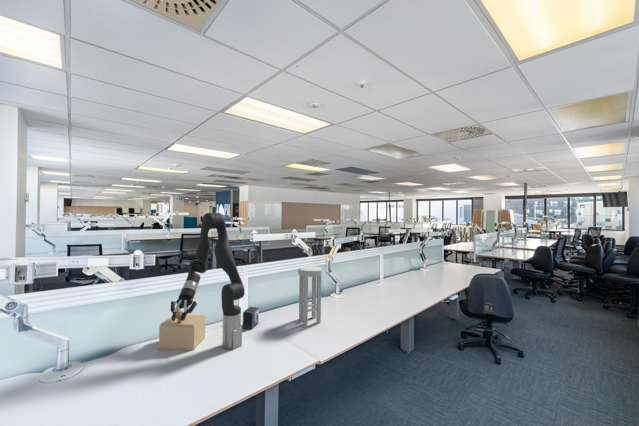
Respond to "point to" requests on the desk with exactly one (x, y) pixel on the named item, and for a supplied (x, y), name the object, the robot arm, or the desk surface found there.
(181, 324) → the lid flap
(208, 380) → the desk surface
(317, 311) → the stool
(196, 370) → the desk surface
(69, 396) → the desk surface
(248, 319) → the small box
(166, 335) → the carton
